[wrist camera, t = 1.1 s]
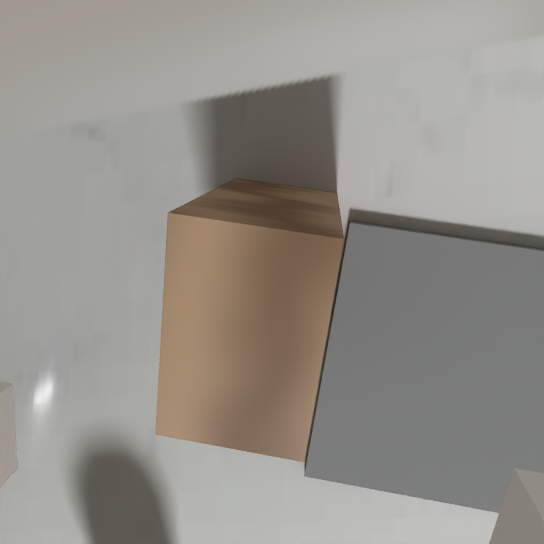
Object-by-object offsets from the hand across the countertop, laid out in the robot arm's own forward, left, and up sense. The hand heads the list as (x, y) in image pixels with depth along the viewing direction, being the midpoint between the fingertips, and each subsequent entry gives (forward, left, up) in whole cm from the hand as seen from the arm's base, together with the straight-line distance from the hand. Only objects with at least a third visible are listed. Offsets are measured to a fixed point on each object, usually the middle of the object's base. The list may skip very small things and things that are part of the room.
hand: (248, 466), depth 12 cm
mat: (+14, -5, -17) cm, 23 cm away
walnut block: (-1, +1, -17) cm, 17 cm away
